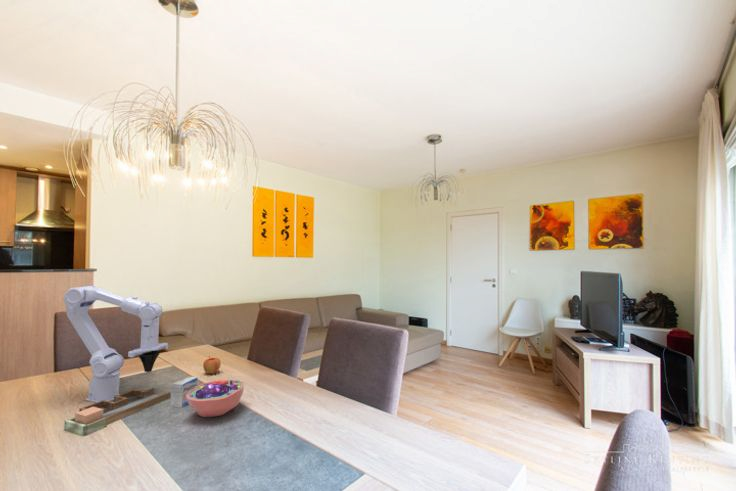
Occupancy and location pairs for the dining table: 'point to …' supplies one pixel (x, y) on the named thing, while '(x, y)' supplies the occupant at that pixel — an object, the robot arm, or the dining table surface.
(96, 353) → the robot arm
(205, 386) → the cell model
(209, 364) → the apple
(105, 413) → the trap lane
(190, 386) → the medicine box
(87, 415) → the block
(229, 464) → the dining table surface
